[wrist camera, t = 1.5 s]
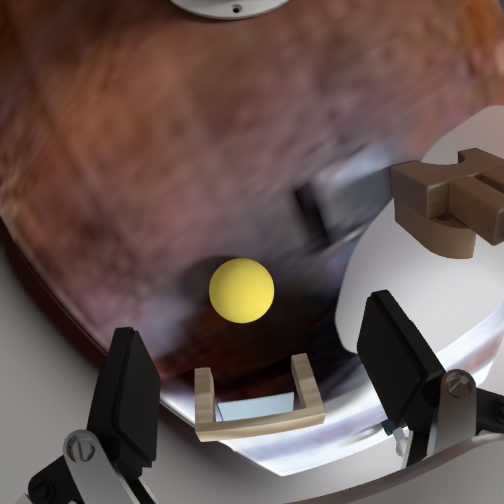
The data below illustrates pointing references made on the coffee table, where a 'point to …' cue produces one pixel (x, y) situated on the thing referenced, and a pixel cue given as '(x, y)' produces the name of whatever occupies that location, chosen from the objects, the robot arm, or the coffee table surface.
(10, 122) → the coffee table surface
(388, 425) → the watch
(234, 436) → the bridge
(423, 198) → the wooden toy
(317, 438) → the coffee table surface
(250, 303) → the ball
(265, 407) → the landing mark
